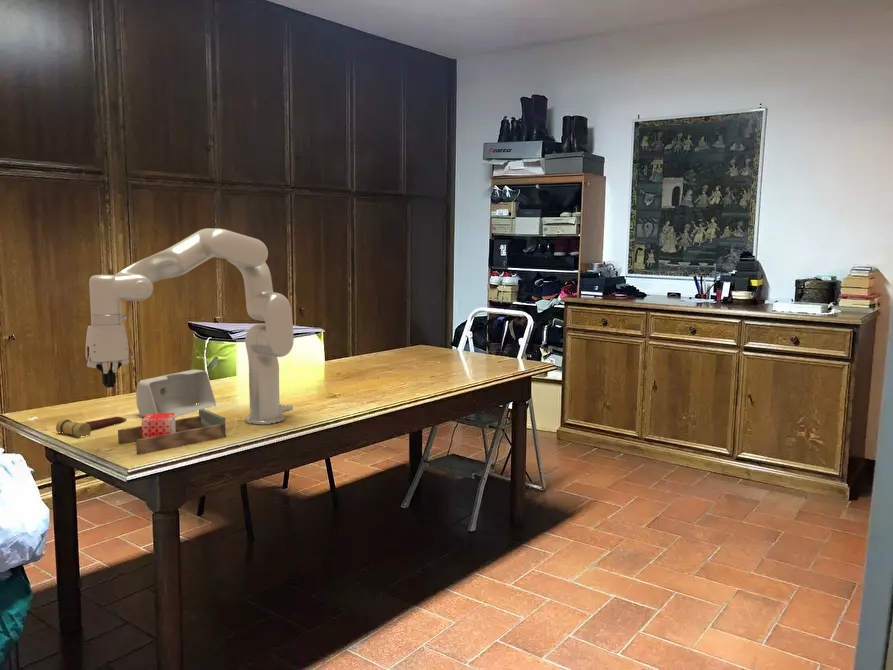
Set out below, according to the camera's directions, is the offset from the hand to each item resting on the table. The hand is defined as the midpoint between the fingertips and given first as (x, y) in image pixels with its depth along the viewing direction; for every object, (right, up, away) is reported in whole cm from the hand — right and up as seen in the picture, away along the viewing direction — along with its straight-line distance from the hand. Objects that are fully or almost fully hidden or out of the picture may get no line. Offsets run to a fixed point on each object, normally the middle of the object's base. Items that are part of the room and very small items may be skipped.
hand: (109, 386), depth 198 cm
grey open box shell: (-2, -12, +50) cm, 51 cm away
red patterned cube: (+9, -18, +12) cm, 23 cm away
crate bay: (+12, -17, +15) cm, 25 cm away
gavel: (-16, -16, +26) cm, 34 cm away
